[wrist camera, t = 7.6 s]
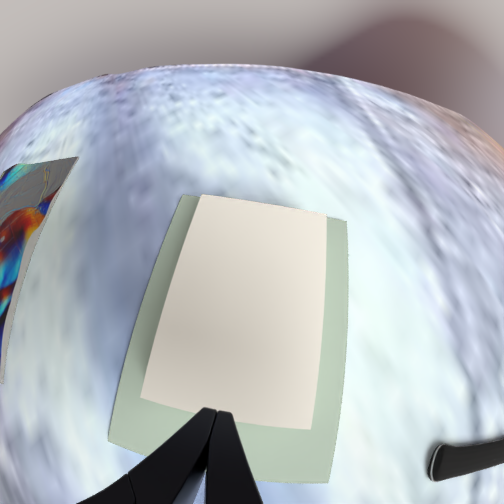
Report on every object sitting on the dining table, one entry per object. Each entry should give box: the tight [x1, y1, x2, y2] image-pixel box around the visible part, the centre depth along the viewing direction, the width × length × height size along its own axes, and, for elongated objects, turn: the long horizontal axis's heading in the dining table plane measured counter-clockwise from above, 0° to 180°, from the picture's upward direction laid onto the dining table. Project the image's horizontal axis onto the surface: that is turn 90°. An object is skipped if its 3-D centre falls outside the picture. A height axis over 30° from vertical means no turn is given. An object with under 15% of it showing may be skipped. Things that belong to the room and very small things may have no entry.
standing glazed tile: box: [140, 194, 327, 430], centre depth 17 cm, size 3×9×14 cm
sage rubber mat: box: [108, 195, 348, 483], centre depth 17 cm, size 20×14×1 cm
